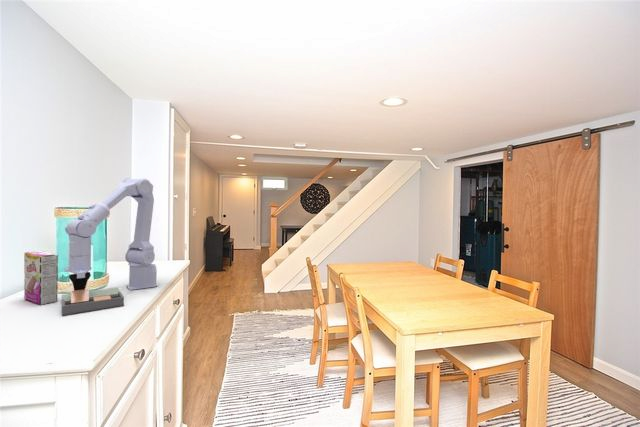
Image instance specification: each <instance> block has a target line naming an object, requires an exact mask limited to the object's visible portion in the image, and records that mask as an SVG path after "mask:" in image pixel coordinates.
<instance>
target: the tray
mask: <svg viewBox="0 0 640 427" xmlns="http://www.w3.org/2000/svg"><path fill="white" fill-rule="evenodd" d="M110 297H111V299H105V300H98V301H93V299H90V300H89V302H84V303H78V304H71V302H69V303H65V300H64V299H62V298H61V316H62V317H65V316H71V315H77V314H79V315H80V314H84V313H89V312H95V311H102V310H103V311H104V310H107V309H113V308H119V307H124V306H125V305H124V304H125V297H124V295H123V293H122V292H121V290H120V291H119V292H118V295H117V296H110Z"/></svg>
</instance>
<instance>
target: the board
mask: <svg viewBox="0 0 640 427" xmlns="http://www.w3.org/2000/svg"><path fill="white" fill-rule="evenodd" d="M119 291H120V292H121V290H120V289H119V287H112V288H105V289H98V290H96V289H95V290H89V300H90V299H93V298H94V297H101V296H108V295H110V296H117V295H118V292H119ZM62 299H64V300H65V303H69V302H71V293H65V294H61V300H62Z"/></svg>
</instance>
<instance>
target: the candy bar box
mask: <svg viewBox="0 0 640 427" xmlns="http://www.w3.org/2000/svg"><path fill="white" fill-rule="evenodd" d="M23 256H24V259H23V260H24V262H23V263H24V264H23V266H24V267H23V269H24V272H23V273H24V280H23V281H24V282H23V284H24V287H23V288H24V290H23V292H24V295H23V296H24V297H23V299H24V300H25V301H28V302H31V303H34V304H36V305H39V306H43V305H47V304H52V303H55V302H58V288H59V286H58V285H59V284H58V272H59V269H58V267H59V266H58V264H59V259H58V257H59V254H57V253H53V252H49V251H43V250H36V251H33V250H32V251H26V252H24V254H23Z"/></svg>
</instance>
